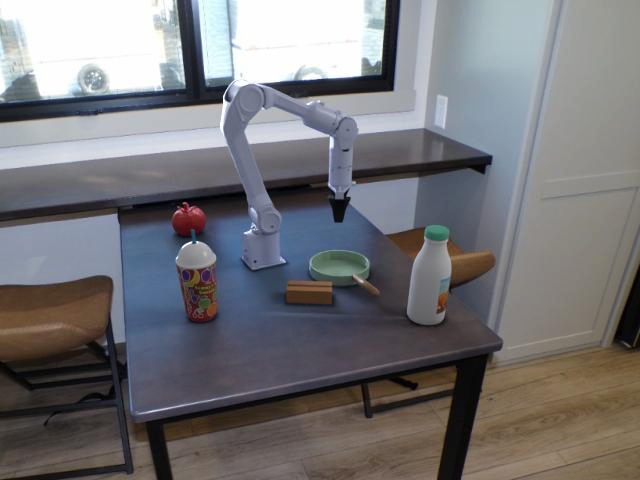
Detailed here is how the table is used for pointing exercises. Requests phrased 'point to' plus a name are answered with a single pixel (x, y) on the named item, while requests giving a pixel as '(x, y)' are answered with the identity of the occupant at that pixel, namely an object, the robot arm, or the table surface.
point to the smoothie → (198, 279)
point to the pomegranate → (188, 220)
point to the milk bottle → (430, 278)
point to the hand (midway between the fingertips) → (338, 216)
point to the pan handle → (366, 285)
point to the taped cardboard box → (309, 292)
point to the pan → (338, 267)
